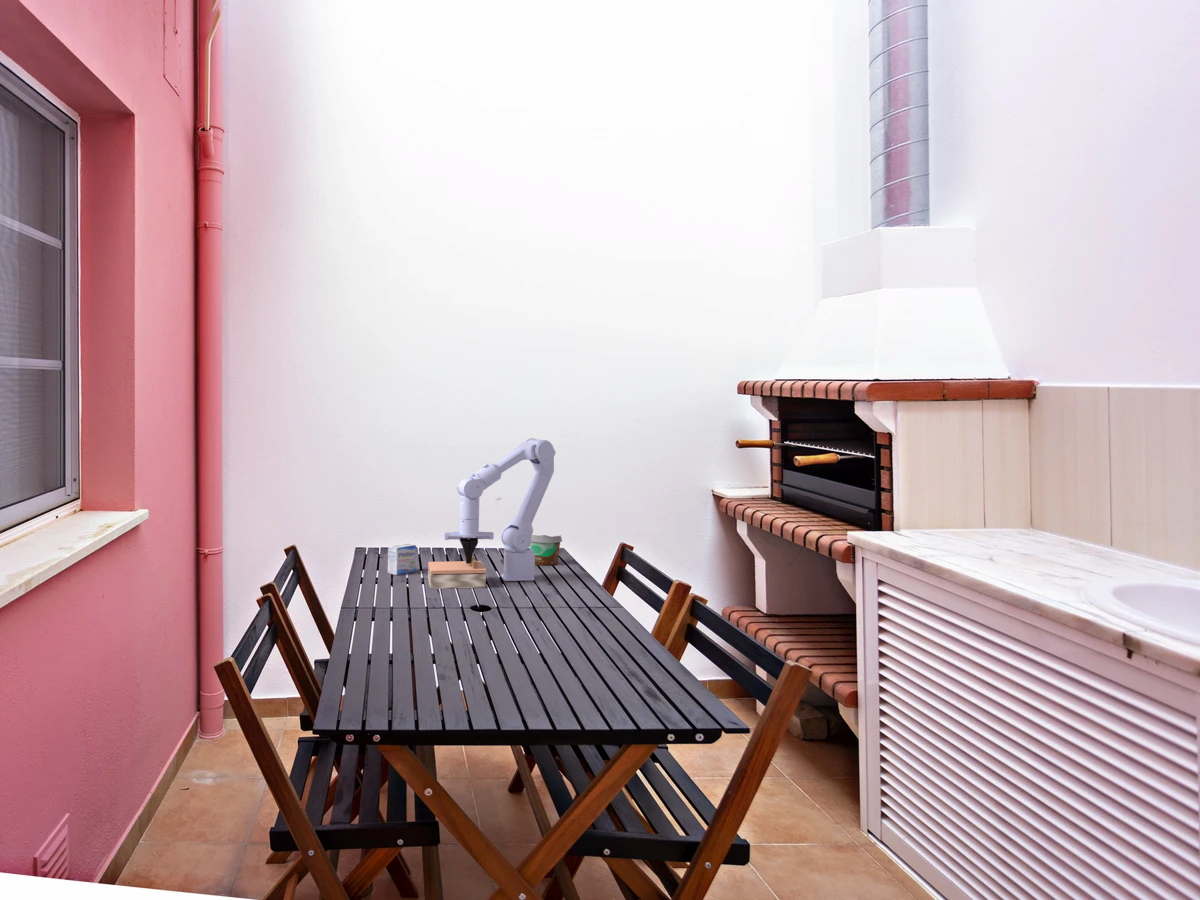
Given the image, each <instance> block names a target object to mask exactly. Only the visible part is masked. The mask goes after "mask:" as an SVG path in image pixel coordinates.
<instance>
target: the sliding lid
mask: <svg viewBox="0 0 1200 900" xmlns="http://www.w3.org/2000/svg"><path fill="white" fill-rule="evenodd" d="M428 566H429V569H430V573H431V574H464V573H486V574H487V568H486V567H485V565H484V564H483V562H482V560H477V558H476V557H475V555H472V559H471V564H466V560H465V561H464V560H462V561H459V560H458V561H428ZM428 566H427V567H428Z"/></svg>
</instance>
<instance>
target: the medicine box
mask: <svg viewBox="0 0 1200 900" xmlns="http://www.w3.org/2000/svg"><path fill="white" fill-rule="evenodd" d="M416 570H417V545H416V544H412V543H404V544H398V545H397V544H396V545H390V546H388V547H387V574H390V575H392V576H401V575H406V574H407V575H408V574H413V573H415V572H417V571H416Z"/></svg>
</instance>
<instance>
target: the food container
mask: <svg viewBox="0 0 1200 900" xmlns="http://www.w3.org/2000/svg"><path fill="white" fill-rule="evenodd" d="M561 542H563V538H562V535H555V536H554V535H553V536H550V535H546V534H545V535H543V534H542V535H535V534H532V537H531V545H530V547H529V550H533V551H534V555H535V566H541V567H549V566H551V567H552V566H557V565H558V561H559V556H560V555H559V554H560V547H561Z"/></svg>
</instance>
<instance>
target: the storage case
mask: <svg viewBox="0 0 1200 900" xmlns="http://www.w3.org/2000/svg"><path fill="white" fill-rule="evenodd" d="M486 577H487V572H486V573H464V574H431V573H430V569H429V566H427V580H428V584H429V588H430V589H431V590H435V589H439V590H440V589H475V588H486V586H487V583H486V582H487V580H486V579H487V578H486Z"/></svg>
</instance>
